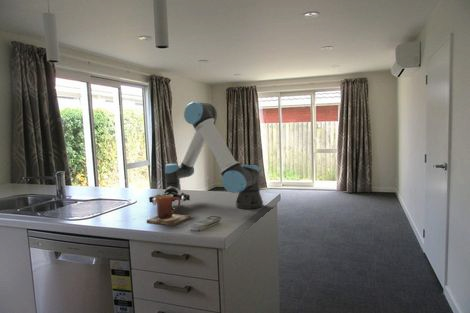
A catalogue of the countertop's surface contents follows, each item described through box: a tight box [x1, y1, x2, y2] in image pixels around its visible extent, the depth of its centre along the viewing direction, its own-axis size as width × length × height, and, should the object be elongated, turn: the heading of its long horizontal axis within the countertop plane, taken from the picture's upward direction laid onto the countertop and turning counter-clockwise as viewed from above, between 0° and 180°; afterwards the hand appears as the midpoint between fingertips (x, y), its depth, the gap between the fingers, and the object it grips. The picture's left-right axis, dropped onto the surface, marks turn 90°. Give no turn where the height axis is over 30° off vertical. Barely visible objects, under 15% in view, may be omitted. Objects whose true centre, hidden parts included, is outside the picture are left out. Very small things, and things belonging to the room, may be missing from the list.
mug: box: [155, 194, 181, 219], centre depth 160 cm, size 12×9×10 cm
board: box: [146, 213, 192, 227], centre depth 161 cm, size 16×14×2 cm
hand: (168, 201), depth 162 cm, fingers open, 13 cm apart
